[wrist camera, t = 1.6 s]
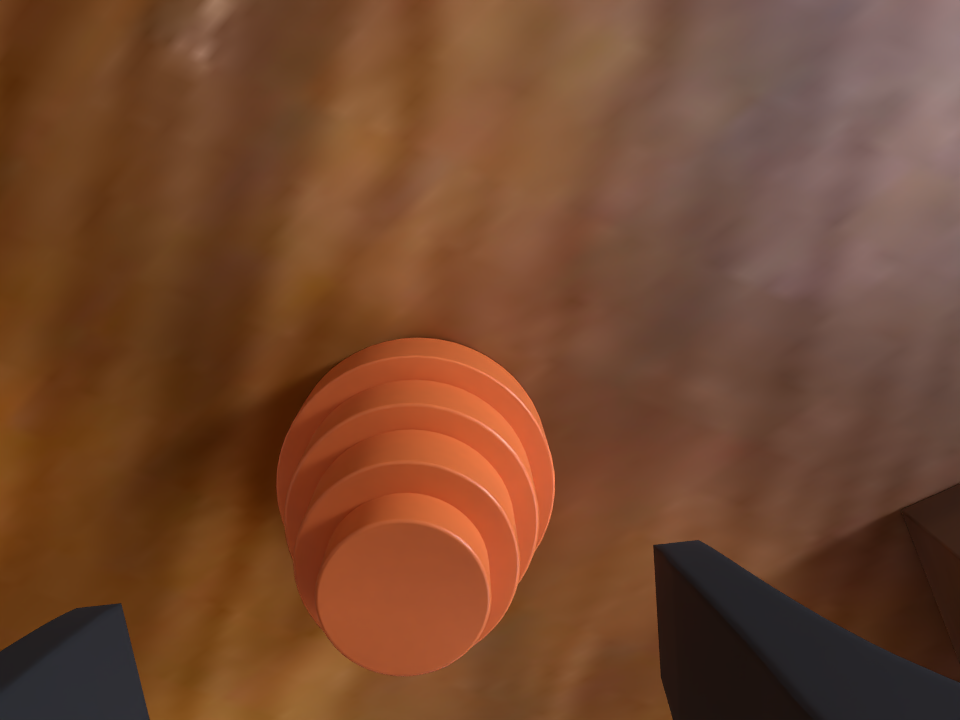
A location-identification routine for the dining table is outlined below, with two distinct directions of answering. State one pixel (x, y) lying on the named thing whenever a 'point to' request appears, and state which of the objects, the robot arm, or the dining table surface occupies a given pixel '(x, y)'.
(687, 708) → the robot arm
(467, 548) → the cone
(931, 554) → the block stack
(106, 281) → the dining table surface
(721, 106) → the dining table surface
